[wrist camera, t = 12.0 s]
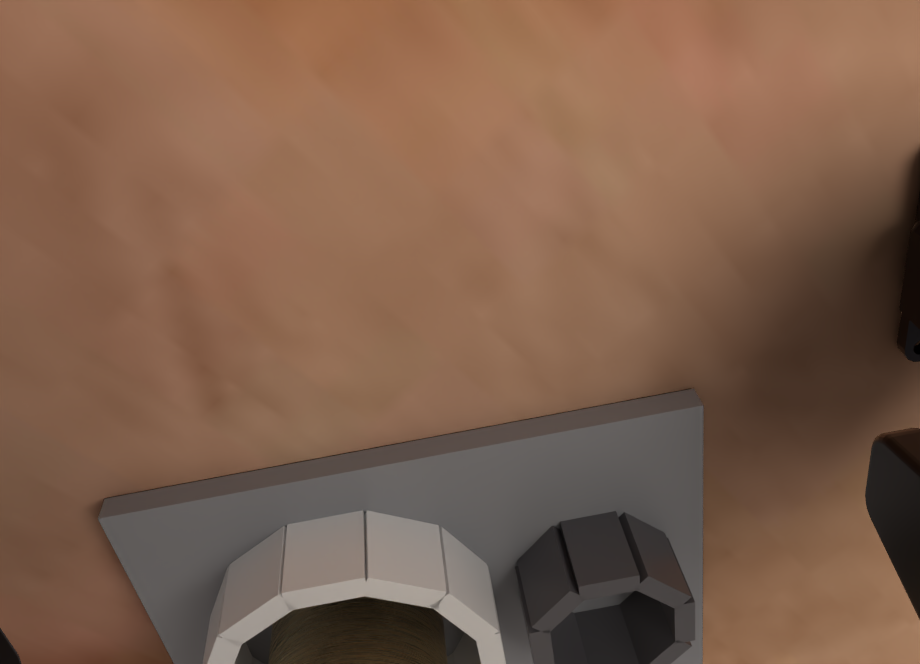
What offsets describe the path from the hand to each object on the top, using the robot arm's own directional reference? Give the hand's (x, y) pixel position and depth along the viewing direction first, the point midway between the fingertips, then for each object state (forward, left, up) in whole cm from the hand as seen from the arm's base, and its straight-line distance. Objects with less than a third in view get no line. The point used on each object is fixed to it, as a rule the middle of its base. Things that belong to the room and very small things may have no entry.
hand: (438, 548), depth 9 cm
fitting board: (+1, +15, -13) cm, 20 cm away
